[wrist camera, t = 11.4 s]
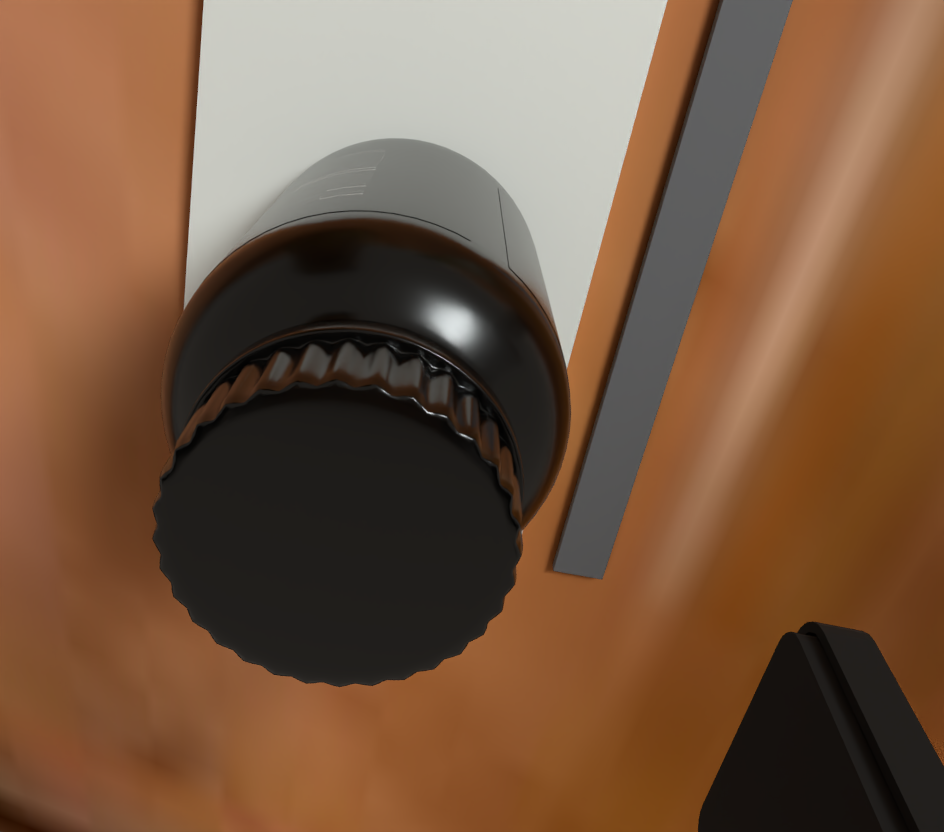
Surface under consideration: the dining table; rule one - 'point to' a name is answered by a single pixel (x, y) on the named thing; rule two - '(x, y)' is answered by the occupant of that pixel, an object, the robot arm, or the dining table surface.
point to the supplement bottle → (362, 419)
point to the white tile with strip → (495, 156)
